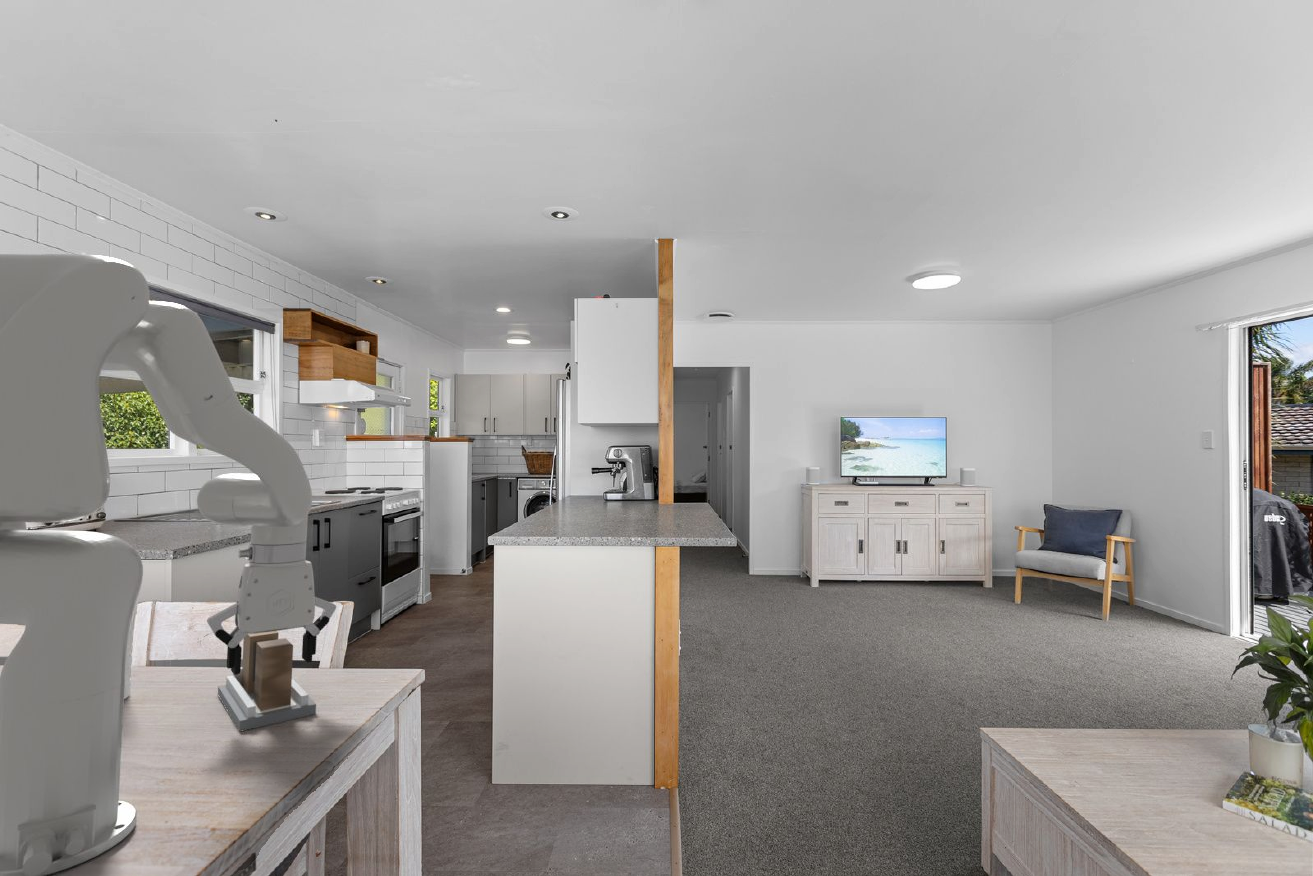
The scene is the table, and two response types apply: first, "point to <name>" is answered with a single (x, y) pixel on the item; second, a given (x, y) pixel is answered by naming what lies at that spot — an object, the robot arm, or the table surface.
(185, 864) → the table surface
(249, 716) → the frame
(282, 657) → the walnut finger
